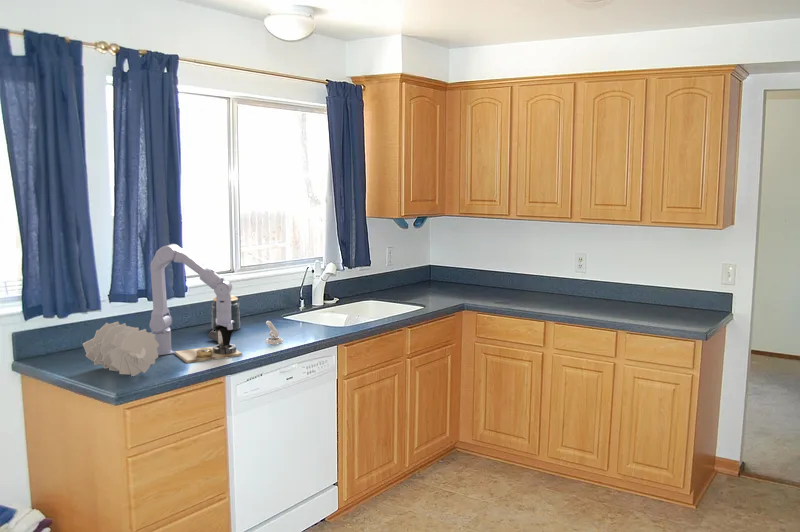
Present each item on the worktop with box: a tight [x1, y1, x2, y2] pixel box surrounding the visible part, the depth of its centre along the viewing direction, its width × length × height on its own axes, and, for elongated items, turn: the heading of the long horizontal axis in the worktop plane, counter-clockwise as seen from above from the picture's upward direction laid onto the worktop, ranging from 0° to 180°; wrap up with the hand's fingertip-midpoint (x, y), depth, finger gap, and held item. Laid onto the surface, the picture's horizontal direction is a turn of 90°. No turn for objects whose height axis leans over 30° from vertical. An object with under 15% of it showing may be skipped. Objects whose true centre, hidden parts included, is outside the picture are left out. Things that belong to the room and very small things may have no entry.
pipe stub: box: [217, 330, 229, 348], centre depth 278 cm, size 4×4×8 cm
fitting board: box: [174, 346, 243, 364], centre depth 278 cm, size 22×16×1 cm
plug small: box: [196, 349, 212, 358], centre depth 272 cm, size 6×6×2 cm
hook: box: [265, 320, 284, 345], centre depth 298 cm, size 8×12×7 cm
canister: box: [210, 294, 241, 331], centre depth 322 cm, size 13×13×18 cm
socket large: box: [212, 343, 237, 354], centre depth 279 cm, size 9×9×2 cm
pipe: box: [208, 325, 219, 344], centre depth 297 cm, size 6×13×8 cm, turn 50°
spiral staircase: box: [82, 321, 159, 377], centre depth 252 cm, size 18×18×25 cm
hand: (224, 344), depth 279 cm, fingers closed on pipe stub, 4 cm apart
